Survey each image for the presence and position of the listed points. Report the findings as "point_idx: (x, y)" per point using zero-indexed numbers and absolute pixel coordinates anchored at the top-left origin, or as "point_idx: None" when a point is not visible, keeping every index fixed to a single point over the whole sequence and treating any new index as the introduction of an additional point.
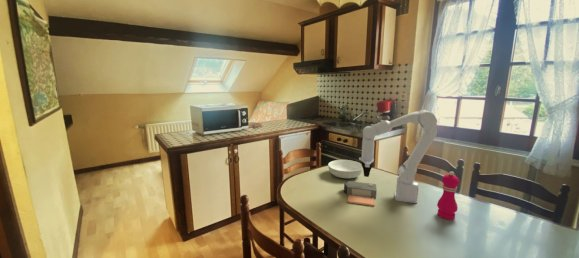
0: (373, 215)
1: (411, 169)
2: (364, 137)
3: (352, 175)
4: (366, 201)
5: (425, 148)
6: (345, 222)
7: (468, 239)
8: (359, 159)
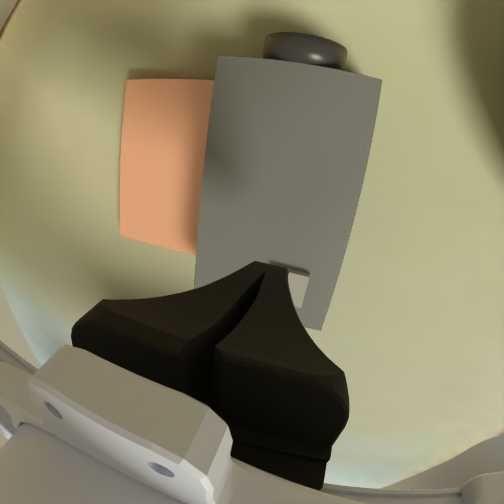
0: (66, 208)
1: None
2: None
3: None
4: (142, 197)
5: None
6: (17, 98)
7: None
8: (47, 363)
